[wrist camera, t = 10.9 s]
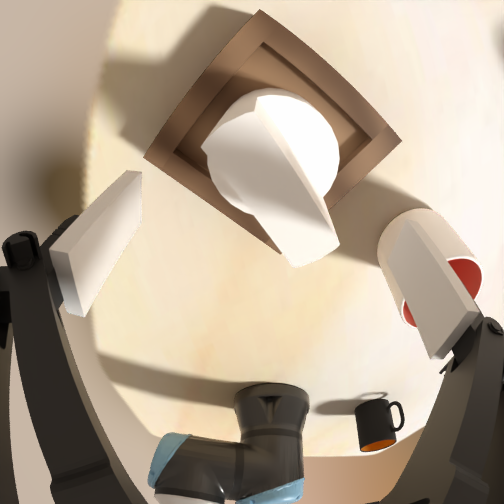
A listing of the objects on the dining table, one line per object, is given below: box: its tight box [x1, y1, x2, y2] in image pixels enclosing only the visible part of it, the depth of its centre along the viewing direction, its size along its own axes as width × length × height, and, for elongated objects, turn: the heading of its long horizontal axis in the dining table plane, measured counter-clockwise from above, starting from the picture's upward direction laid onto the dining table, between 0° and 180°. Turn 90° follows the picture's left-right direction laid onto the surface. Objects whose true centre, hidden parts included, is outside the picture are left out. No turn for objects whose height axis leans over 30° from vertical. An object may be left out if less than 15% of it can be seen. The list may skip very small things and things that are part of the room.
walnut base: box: [143, 9, 402, 254], centre depth 25 cm, size 16×16×4 cm
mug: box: [355, 399, 405, 452], centre depth 54 cm, size 8×12×10 cm
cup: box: [377, 208, 483, 329], centre depth 29 cm, size 10×10×10 cm
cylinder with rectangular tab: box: [201, 88, 340, 268], centre depth 20 cm, size 9×9×12 cm
